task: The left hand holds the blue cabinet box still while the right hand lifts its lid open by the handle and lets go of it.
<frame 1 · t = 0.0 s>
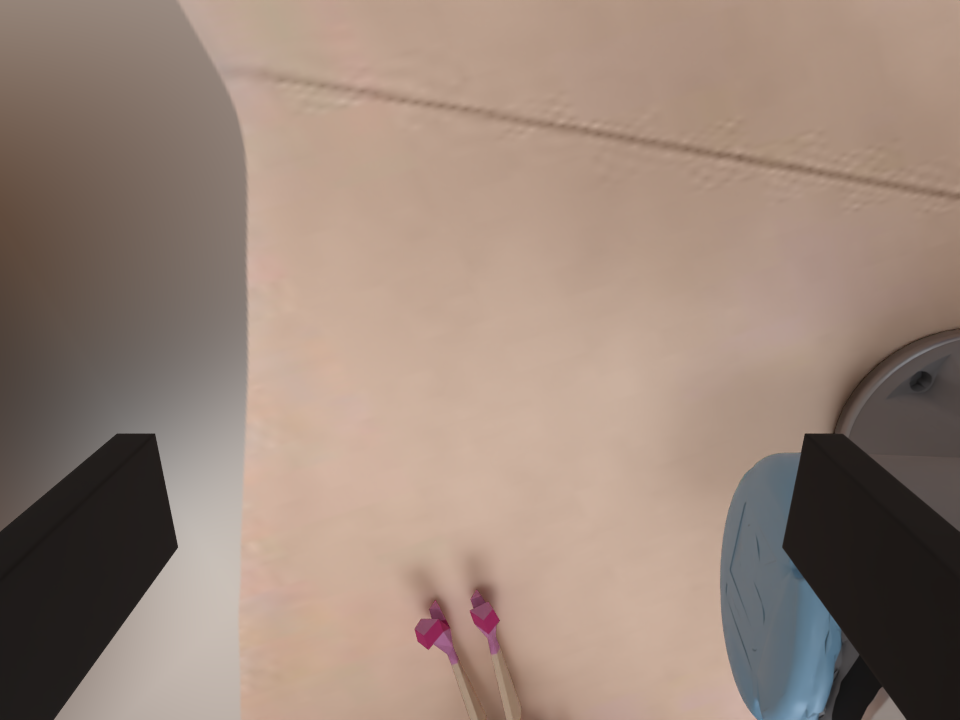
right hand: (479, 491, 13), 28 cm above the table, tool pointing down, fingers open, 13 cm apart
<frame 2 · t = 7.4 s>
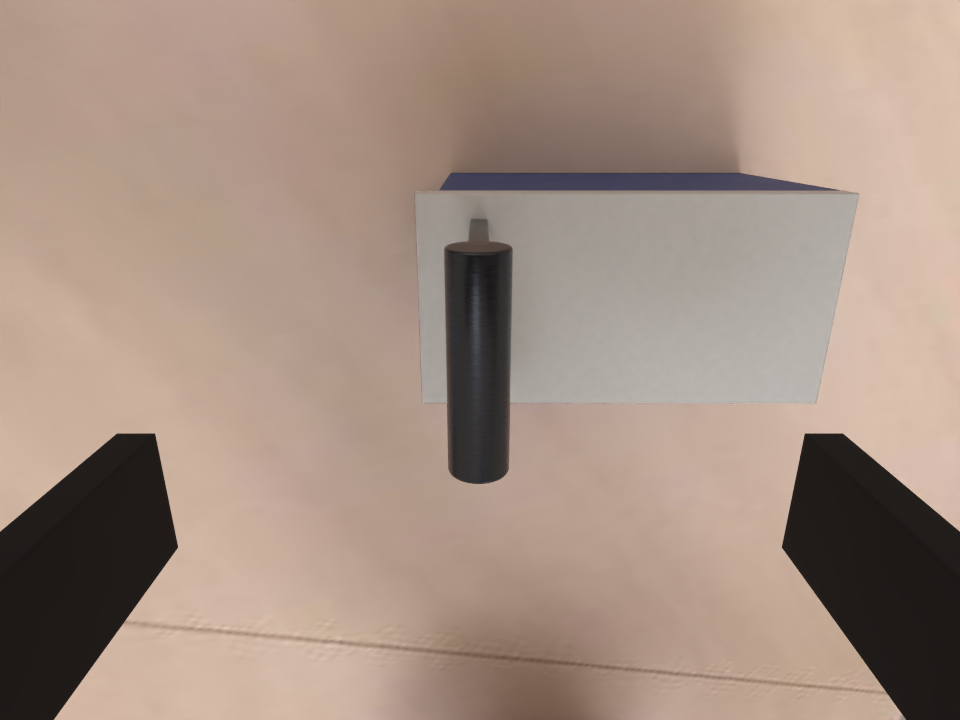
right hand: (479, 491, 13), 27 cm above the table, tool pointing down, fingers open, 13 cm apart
blue cabinet box: (590, 251, 38), on the table
lid: (648, 329, 23), point 16 cm above the table, hinge at 0.0°
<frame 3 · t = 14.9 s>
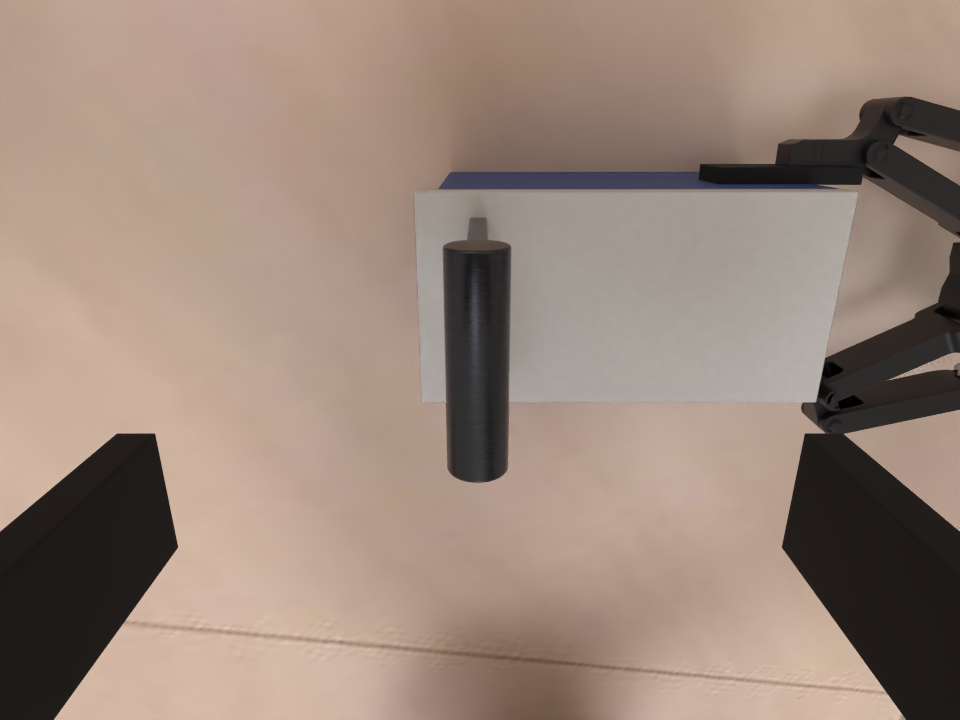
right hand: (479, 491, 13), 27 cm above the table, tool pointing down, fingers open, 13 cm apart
blue cabinet box: (590, 251, 38), on the table, touching left hand
lid: (647, 328, 23), point 16 cm above the table, hinge at 0.0°
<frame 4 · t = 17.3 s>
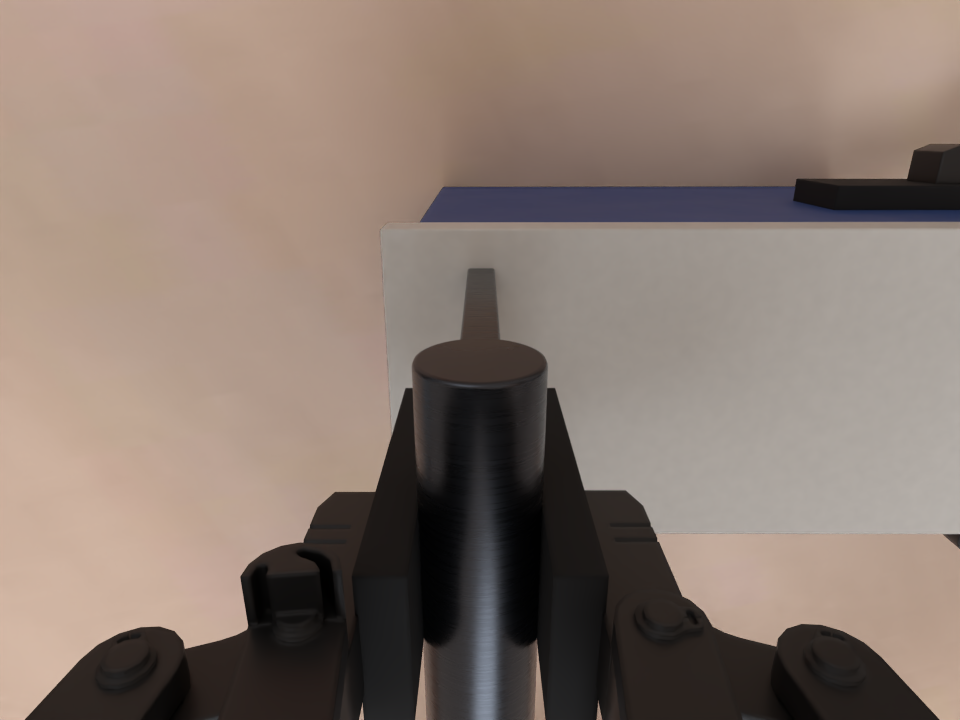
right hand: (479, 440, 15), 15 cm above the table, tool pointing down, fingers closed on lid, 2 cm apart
blue cabinet box: (627, 289, 29), on the table, touching left hand
lid: (759, 457, 14), point 16 cm above the table, hinge at -0.1°, touching right hand
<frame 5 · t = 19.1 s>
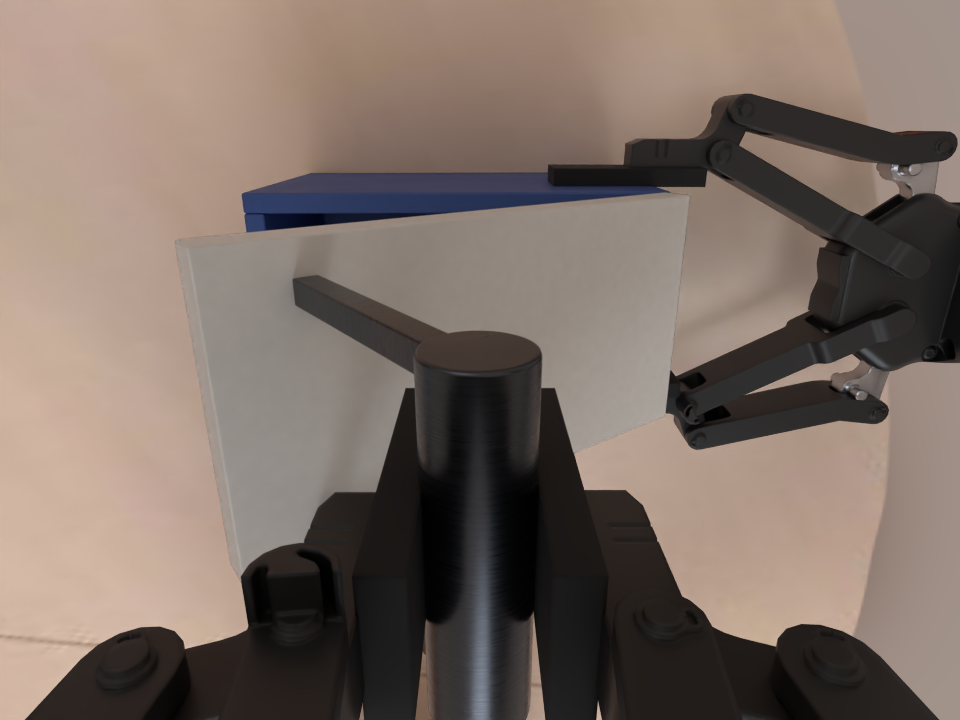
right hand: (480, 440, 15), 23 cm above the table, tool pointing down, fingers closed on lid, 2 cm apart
left hand: (546, 283, 30), fingers closed on blue cabinet box, 9 cm apart
blue cabinet box: (462, 255, 36), on the table, touching left hand
lid: (581, 394, 17), point 20 cm above the table, hinge at 36.0°, touching right hand
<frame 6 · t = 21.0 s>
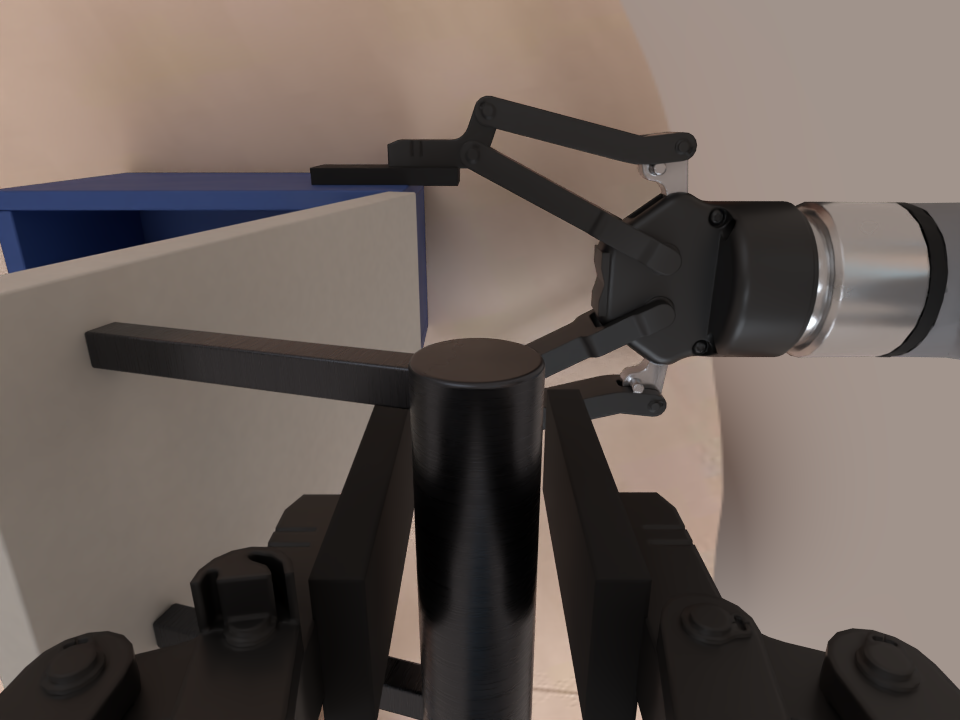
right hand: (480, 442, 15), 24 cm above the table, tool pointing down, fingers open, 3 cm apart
left hand: (327, 279, 31), fingers closed on blue cabinet box, 9 cm apart
blue cabinet box: (283, 253, 37), on the table, touching left hand
lid: (416, 396, 17), point 21 cm above the table, hinge at 72.6°
when the left hand's fingers open (7 cm above the table, at t = 24.9 s): blue cabinet box stays where it is, on the table.
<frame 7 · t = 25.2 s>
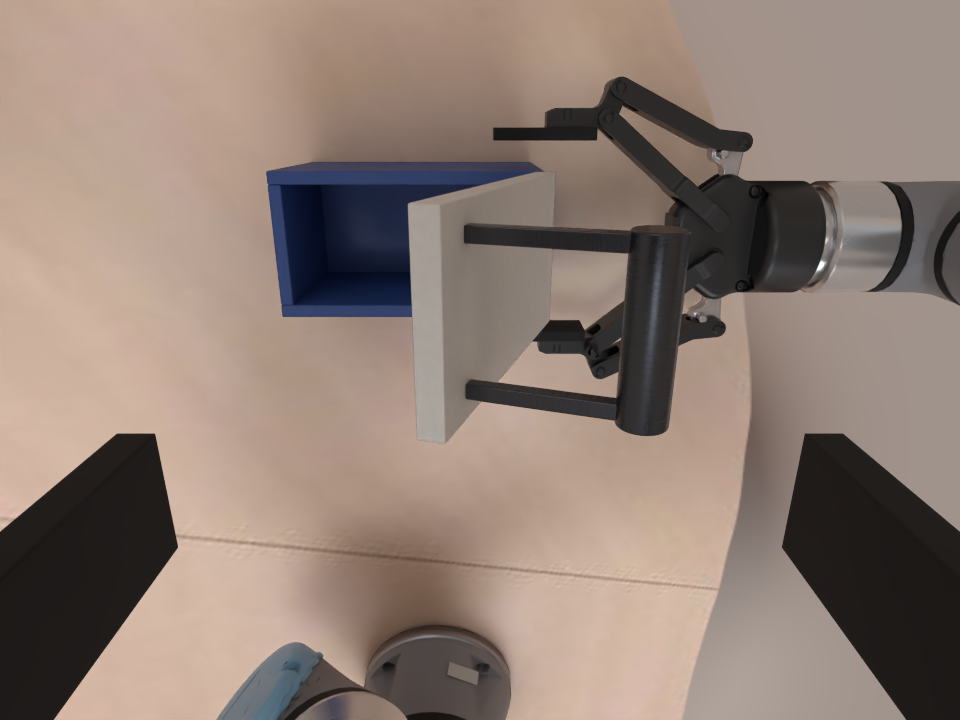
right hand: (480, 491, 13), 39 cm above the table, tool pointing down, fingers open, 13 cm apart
left hand: (492, 237, 43), fingers open, 13 cm apart
blue cabinet box: (423, 222, 50), on the table
lid: (582, 286, 30), point 21 cm above the table, hinge at 70.8°
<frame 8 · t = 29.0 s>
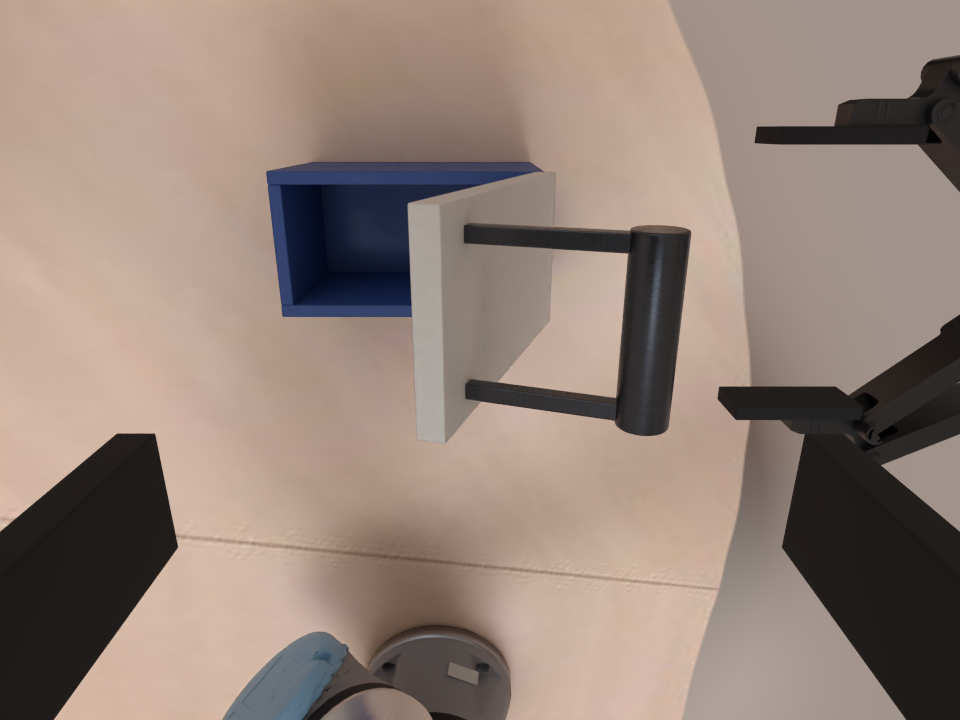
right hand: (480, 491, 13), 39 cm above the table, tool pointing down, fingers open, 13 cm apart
blue cabinet box: (423, 222, 50), on the table
lid: (581, 286, 30), point 21 cm above the table, hinge at 70.8°
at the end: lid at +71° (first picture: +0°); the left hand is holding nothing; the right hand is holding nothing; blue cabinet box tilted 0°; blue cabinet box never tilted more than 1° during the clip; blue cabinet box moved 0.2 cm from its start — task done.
